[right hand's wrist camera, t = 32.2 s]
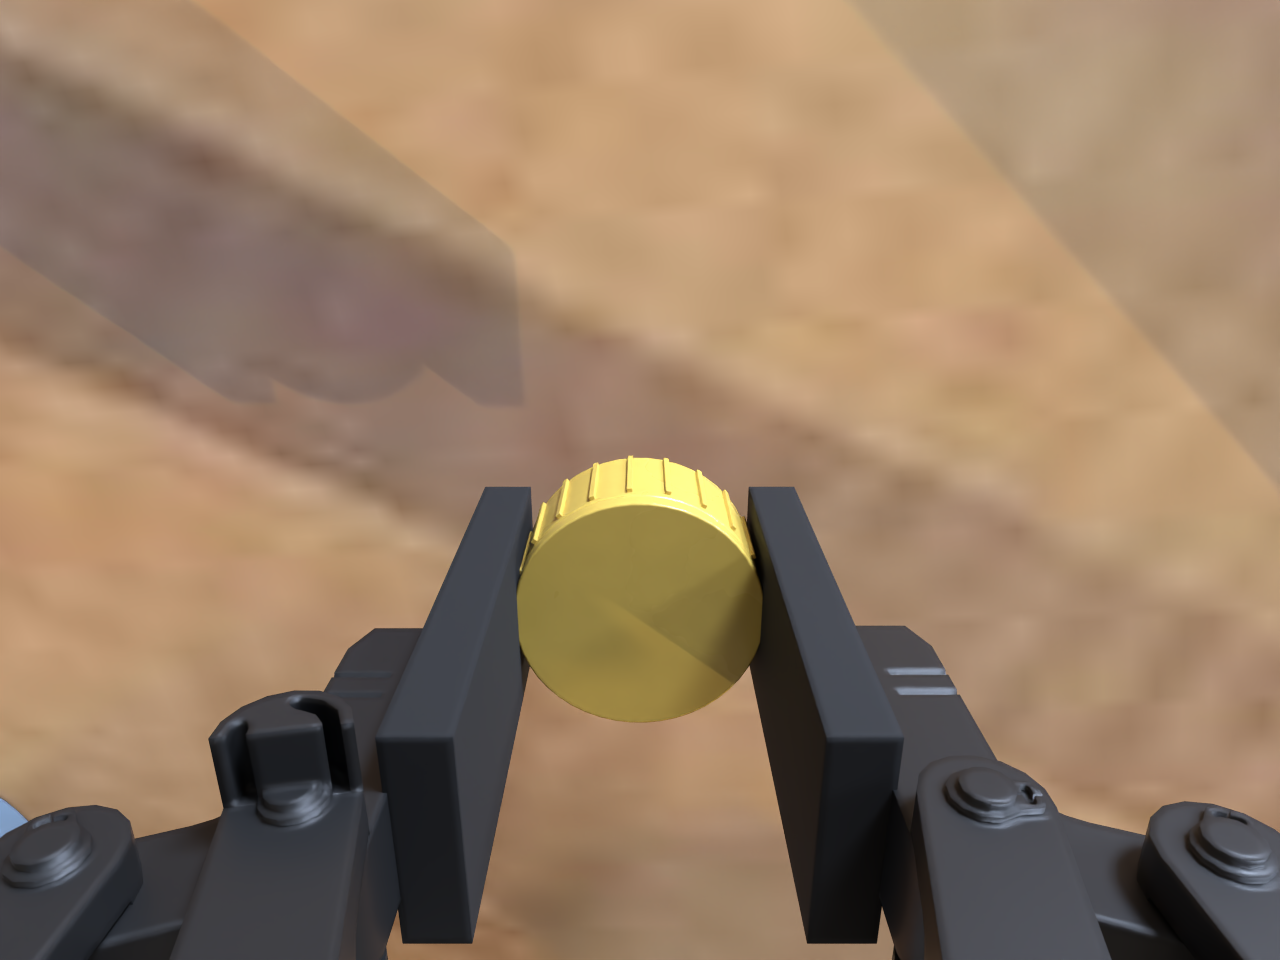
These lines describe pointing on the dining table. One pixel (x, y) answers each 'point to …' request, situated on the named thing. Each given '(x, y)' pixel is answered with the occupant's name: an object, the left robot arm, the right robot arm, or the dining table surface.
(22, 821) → the bottle
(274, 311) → the dining table surface
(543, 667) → the cap
